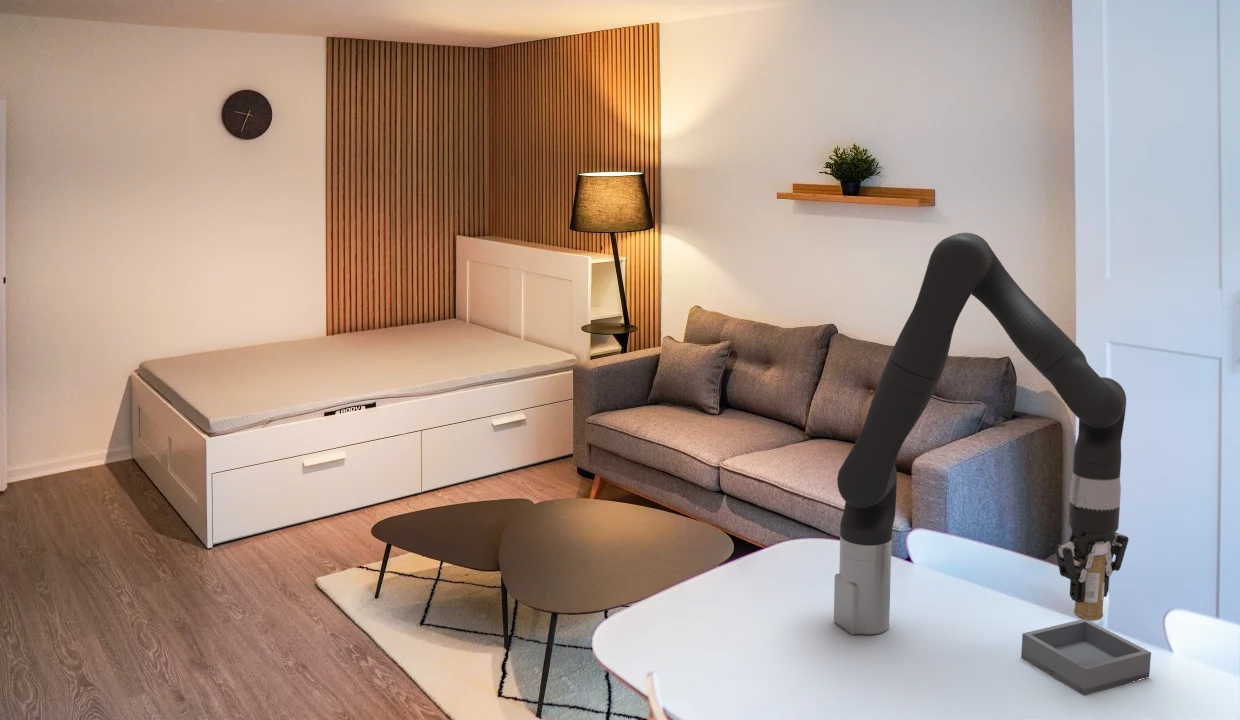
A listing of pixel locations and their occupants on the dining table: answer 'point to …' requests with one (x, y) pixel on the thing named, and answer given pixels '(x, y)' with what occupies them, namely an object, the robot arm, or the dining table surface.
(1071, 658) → the bin
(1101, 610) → the sprinkles bottle
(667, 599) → the dining table surface
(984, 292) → the robot arm
